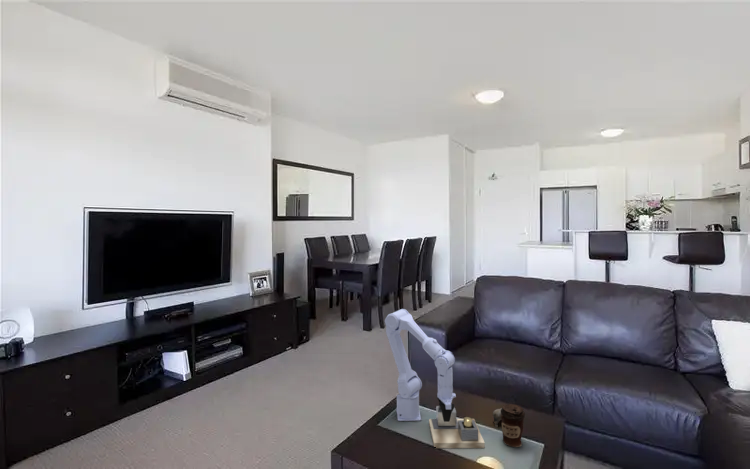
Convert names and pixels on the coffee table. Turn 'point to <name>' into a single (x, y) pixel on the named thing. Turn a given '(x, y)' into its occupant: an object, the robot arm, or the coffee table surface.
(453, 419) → the block
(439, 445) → the base
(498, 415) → the rhino figurine
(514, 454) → the coffee table surface
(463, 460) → the coffee table surface
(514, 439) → the coffee cup
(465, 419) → the pin
